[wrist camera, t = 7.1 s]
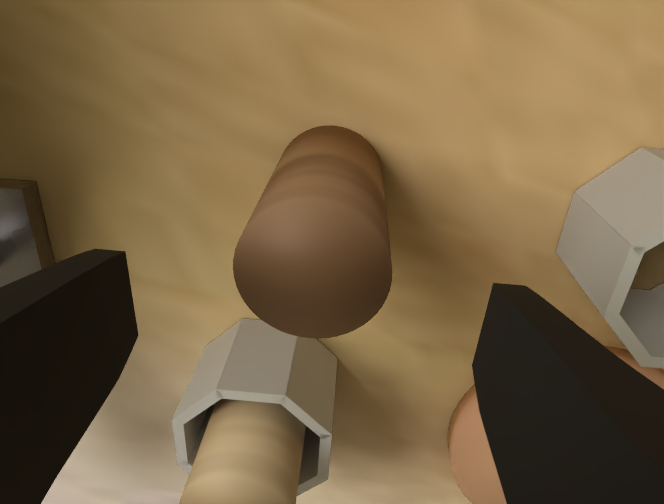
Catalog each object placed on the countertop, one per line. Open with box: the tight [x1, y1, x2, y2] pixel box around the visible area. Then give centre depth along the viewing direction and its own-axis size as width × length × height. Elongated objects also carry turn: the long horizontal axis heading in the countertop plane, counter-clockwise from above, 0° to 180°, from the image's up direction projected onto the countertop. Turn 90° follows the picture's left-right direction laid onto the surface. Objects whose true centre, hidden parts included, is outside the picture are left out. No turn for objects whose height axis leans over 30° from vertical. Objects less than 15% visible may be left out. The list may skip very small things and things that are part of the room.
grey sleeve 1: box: [172, 318, 338, 496], centre depth 19 cm, size 6×6×4 cm
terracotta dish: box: [448, 346, 664, 504], centre depth 21 cm, size 10×10×1 cm
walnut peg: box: [233, 126, 392, 338], centre depth 14 cm, size 4×4×6 cm
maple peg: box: [179, 399, 306, 504], centre depth 18 cm, size 4×4×6 cm
